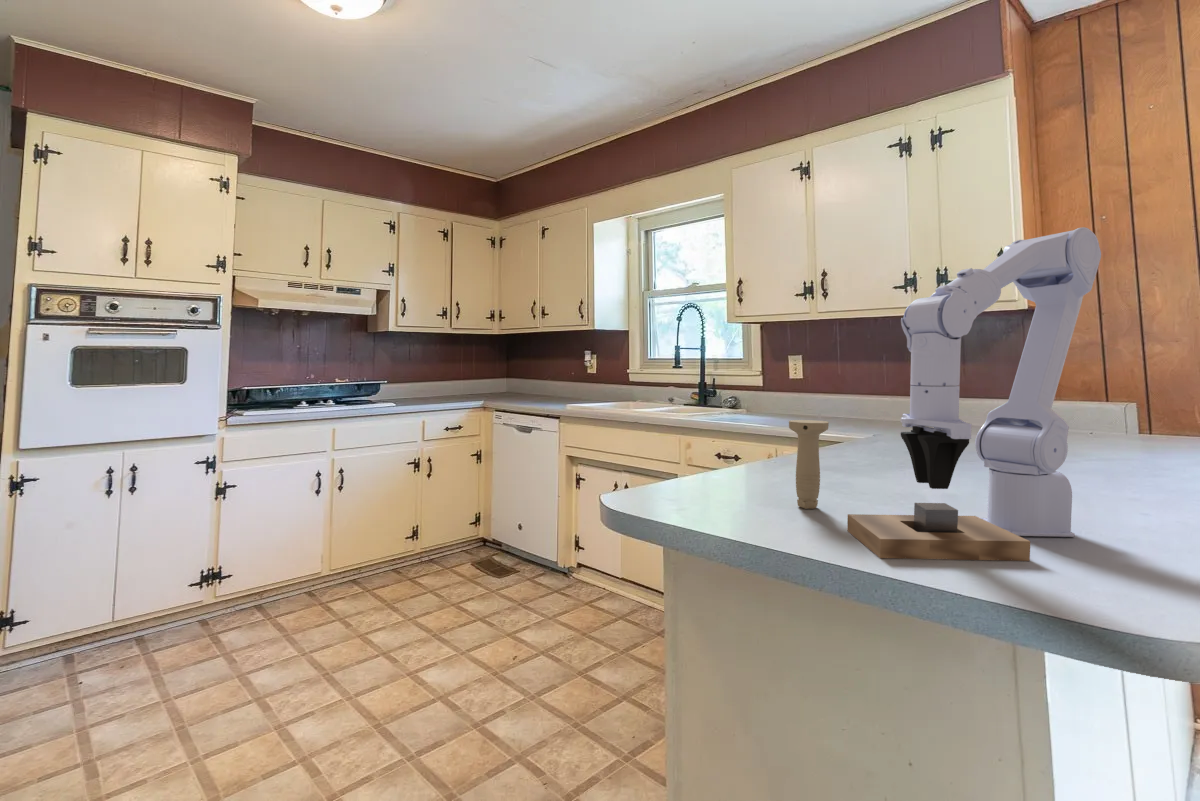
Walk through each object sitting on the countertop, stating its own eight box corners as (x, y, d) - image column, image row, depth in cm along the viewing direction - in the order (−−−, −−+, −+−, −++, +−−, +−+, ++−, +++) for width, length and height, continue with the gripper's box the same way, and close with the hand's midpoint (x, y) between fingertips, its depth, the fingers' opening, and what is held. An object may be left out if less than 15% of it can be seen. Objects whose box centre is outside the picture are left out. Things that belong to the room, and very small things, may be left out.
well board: (974, 532, 82) (975, 515, 82) (1029, 560, 70) (1030, 541, 70) (847, 530, 84) (847, 514, 84) (880, 558, 72) (880, 538, 72)
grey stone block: (943, 542, 78) (945, 503, 78) (956, 550, 75) (958, 510, 74) (913, 541, 79) (914, 502, 78) (924, 549, 75) (926, 509, 75)
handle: (824, 512, 94) (825, 423, 93) (785, 507, 98) (785, 421, 97) (829, 506, 98) (830, 421, 97) (791, 502, 102) (792, 419, 101)
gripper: (881, 384, 83) (879, 474, 84) (930, 387, 69) (927, 497, 70) (931, 383, 83) (929, 475, 84) (990, 387, 68) (987, 498, 69)
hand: (931, 485), depth 77 cm, fingers open, 3 cm apart
